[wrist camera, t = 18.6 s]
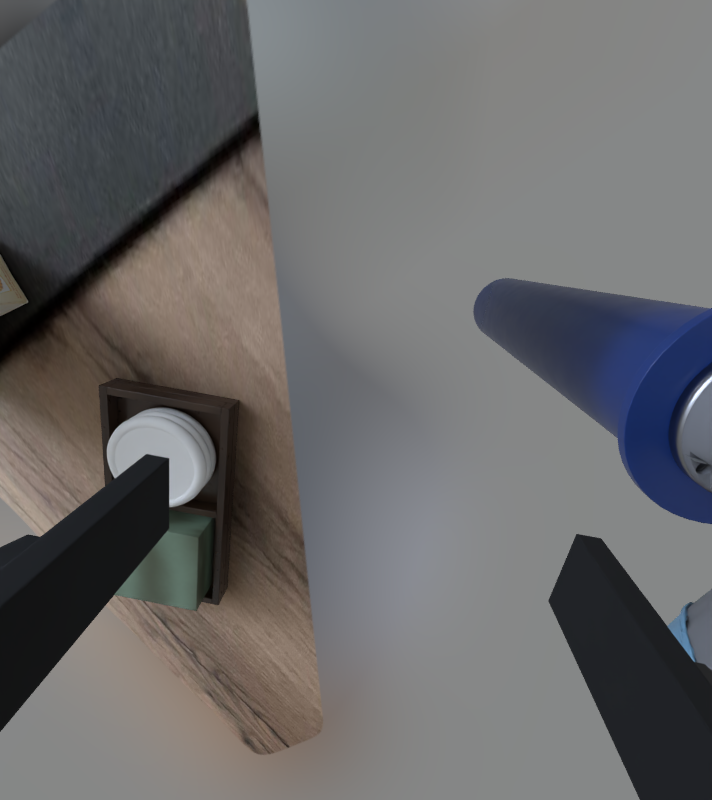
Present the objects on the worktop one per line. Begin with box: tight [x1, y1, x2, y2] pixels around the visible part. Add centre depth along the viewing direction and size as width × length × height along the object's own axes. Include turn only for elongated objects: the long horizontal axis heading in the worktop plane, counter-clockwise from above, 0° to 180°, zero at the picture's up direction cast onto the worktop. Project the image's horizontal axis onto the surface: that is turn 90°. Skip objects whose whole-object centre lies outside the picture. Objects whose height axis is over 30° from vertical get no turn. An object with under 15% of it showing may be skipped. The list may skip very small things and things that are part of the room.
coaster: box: [107, 407, 216, 507], centre depth 40 cm, size 10×10×4 cm
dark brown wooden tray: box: [99, 378, 239, 611], centre depth 43 cm, size 13×25×5 cm, turn 171°
